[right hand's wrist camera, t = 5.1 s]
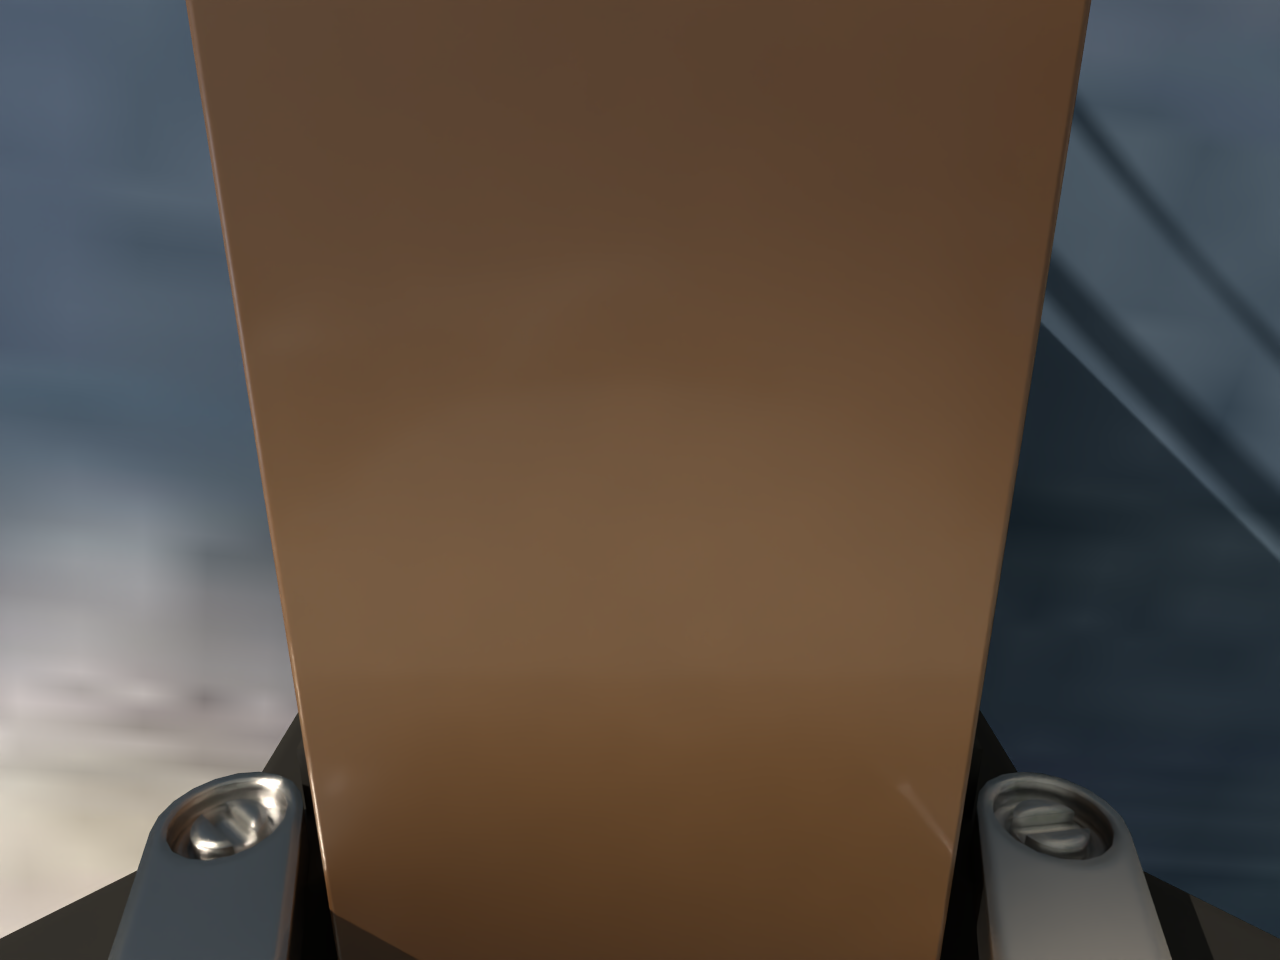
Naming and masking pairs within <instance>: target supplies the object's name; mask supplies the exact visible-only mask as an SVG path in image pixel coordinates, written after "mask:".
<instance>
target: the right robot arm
mask: <svg viewBox="0 0 1280 960" xmlns="http://www.w3.org/2000/svg"><path fill="white" fill-rule="evenodd" d="M0 960H338V958H337V952H336V946H335V940H334V933H333V927H332V921H331V914H330V908H329V902H328V895H327V889H326V883H325V876H324V870H323V864H322V858H321V851H320V845H319V839H318V832H317V826H316V820H315V813H314V807H313V801H312V794H311V788H310V782H309V775H308V769H307V763H306V757H305V750H304V744H303V738H302V731H301V725H300V719H299V712H298V714H297V715H296V717H295V719H294V720H293V722H292V724H291V725H290V727H289V728H288V730H287V732H286V733H285V735H284V737H283V738H282V740H281V742H280V743H279V745H278V747H277V748H276V750H275V752H274V753H273V755H272V757H271V758H270V760H269V761H268V763H267V765H266V766H265V768H264V770H263V771H262V772H251V773H238V774H234V775H230V776H226V777H222V778H218V779H214V780H212V781H210V782H208V783H205V784H203V785H201V786H198V787H196V788H194V789H192V790H190V791H189V792H187V793H186V794H184V795H183V796H181V797H180V798H178V799H177V800H175V801H174V802H173V803H172V804H171V805H170V806H169V807H168V808H167V809H166V810H165V811H164V812H163V813H162V814H161V815H160V816H159V817H158V819H157V820H156V822H155V824H154V826H153V827H152V829H151V831H150V833H149V836H148V839H147V843H146V846H145V849H144V852H143V855H142V858H141V861H140V864H139V867H138V870H137V871H135V872H133V873H131V874H129V875H127V876H125V877H123V878H121V879H119V880H117V881H115V882H113V883H111V884H109V885H107V886H105V887H103V888H101V889H99V890H97V891H95V892H93V893H91V894H89V895H87V896H85V897H83V898H81V899H79V900H77V901H75V902H73V903H71V904H69V905H67V906H65V907H63V908H61V909H59V910H57V911H55V912H53V913H51V914H49V915H47V916H45V917H43V918H41V919H39V920H37V921H35V922H33V923H31V924H29V925H27V926H25V927H23V928H21V929H19V930H17V931H15V932H13V933H11V934H9V935H7V936H5V937H3V938H1V939H0ZM940 960H1280V939H1279V938H1277V937H1275V936H1273V935H1271V934H1269V933H1267V932H1265V931H1263V930H1261V929H1259V928H1257V927H1255V926H1253V925H1251V924H1249V923H1247V922H1245V921H1243V920H1241V919H1239V918H1237V917H1235V916H1233V915H1230V914H1228V913H1226V912H1224V911H1222V910H1220V909H1218V908H1216V907H1214V906H1212V905H1210V904H1208V903H1206V902H1204V901H1202V900H1200V899H1198V898H1196V897H1194V896H1192V895H1190V894H1188V893H1186V892H1184V891H1182V890H1180V889H1178V888H1176V887H1174V886H1172V885H1170V884H1168V883H1166V882H1164V881H1162V880H1160V879H1158V878H1156V877H1154V876H1152V875H1150V874H1148V873H1146V872H1144V871H1143V870H1142V867H1141V864H1140V861H1139V858H1138V855H1137V852H1136V849H1135V846H1134V843H1133V840H1132V836H1131V833H1130V831H1129V829H1128V827H1127V826H1126V824H1125V822H1124V820H1123V819H1122V817H1121V816H1120V815H1119V814H1118V813H1117V812H1116V811H1115V810H1114V809H1113V808H1112V807H1111V806H1110V805H1109V804H1108V803H1107V802H1106V801H1105V800H1103V799H1102V798H1100V797H1099V796H1097V795H1096V794H1094V793H1093V792H1091V791H1090V790H1088V789H1086V788H1084V787H1082V786H1079V785H1077V784H1075V783H1072V782H1070V781H1068V780H1066V779H1062V778H1058V777H1054V776H1050V775H1046V774H1042V773H1029V772H1017V771H1016V769H1015V767H1014V766H1013V764H1012V762H1011V761H1010V759H1009V757H1008V756H1007V754H1006V752H1005V751H1004V749H1003V748H1002V746H1001V744H1000V743H999V741H998V739H997V738H996V736H995V734H994V733H993V731H992V729H991V728H990V726H989V724H988V723H987V721H986V720H985V718H984V716H983V715H982V713H981V711H980V710H979V715H978V721H977V727H976V734H975V740H974V746H973V753H972V759H971V765H970V772H969V778H968V784H967V791H966V797H965V803H964V810H963V816H962V822H961V829H960V835H959V841H958V848H957V854H956V860H955V867H954V873H953V879H952V886H951V892H950V898H949V905H948V911H947V917H946V924H945V930H944V936H943V943H942V949H941V955H940Z"/></svg>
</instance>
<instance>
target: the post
mask: <svg viewBox="0 0 1280 960" xmlns="http://www.w3.org/2000/svg"><path fill="white" fill-rule="evenodd" d="M1090 5H1091V0H186V6H187V12H188V18H189V24H190V31H191V37H192V43H193V50H194V56H195V62H196V69H197V75H198V81H199V88H200V94H201V100H202V107H203V113H204V119H205V125H206V132H207V138H208V144H209V151H210V157H211V163H212V170H213V176H214V182H215V189H216V195H217V201H218V207H219V214H220V220H221V226H222V233H223V239H224V245H225V252H226V258H227V264H228V271H229V277H230V283H231V290H232V296H233V302H234V308H235V315H236V321H237V327H238V334H239V340H240V346H241V353H242V359H243V365H244V372H245V378H246V384H247V391H248V397H249V403H250V409H251V416H252V422H253V428H254V435H255V441H256V447H257V454H258V460H259V466H260V473H261V479H262V485H263V491H264V498H265V504H266V510H267V517H268V523H269V529H270V536H271V542H272V548H273V555H274V561H275V567H276V574H277V580H278V586H279V592H280V599H281V605H282V611H283V618H284V624H285V630H286V637H287V643H288V649H289V656H290V662H291V668H292V675H293V681H294V687H295V693H296V700H297V706H298V712H299V719H300V725H301V731H302V738H303V744H304V750H305V757H306V763H307V769H308V775H309V782H310V788H311V794H312V801H313V807H314V813H315V820H316V826H317V832H318V839H319V845H320V851H321V858H322V864H323V870H324V876H325V883H326V889H327V895H328V902H329V908H330V914H331V921H332V927H333V933H334V940H335V946H336V952H337V958H338V960H940V955H941V949H942V943H943V936H944V930H945V924H946V917H947V911H948V905H949V898H950V892H951V886H952V879H953V873H954V867H955V860H956V854H957V848H958V841H959V835H960V829H961V822H962V816H963V810H964V803H965V797H966V791H967V784H968V778H969V772H970V765H971V759H972V753H973V746H974V740H975V734H976V727H977V721H978V715H979V708H980V702H981V695H982V689H983V683H984V676H985V670H986V664H987V657H988V651H989V645H990V638H991V632H992V626H993V619H994V613H995V607H996V600H997V594H998V588H999V581H1000V575H1001V569H1002V562H1003V556H1004V550H1005V543H1006V537H1007V531H1008V524H1009V518H1010V512H1011V505H1012V499H1013V493H1014V486H1015V480H1016V474H1017V467H1018V461H1019V455H1020V448H1021V442H1022V436H1023V429H1024V423H1025V417H1026V410H1027V404H1028V398H1029V391H1030V385H1031V379H1032V372H1033V366H1034V360H1035V353H1036V347H1037V341H1038V334H1039V328H1040V322H1041V315H1042V309H1043V303H1044V296H1045V290H1046V284H1047V277H1048V271H1049V265H1050V258H1051V252H1052V246H1053V239H1054V233H1055V227H1056V220H1057V214H1058V208H1059V201H1060V195H1061V189H1062V182H1063V176H1064V170H1065V163H1066V157H1067V151H1068V144H1069V138H1070V132H1071V125H1072V119H1073V113H1074V106H1075V100H1076V94H1077V87H1078V81H1079V75H1080V68H1081V62H1082V56H1083V49H1084V43H1085V36H1086V30H1087V24H1088V17H1089V11H1090Z"/></svg>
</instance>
